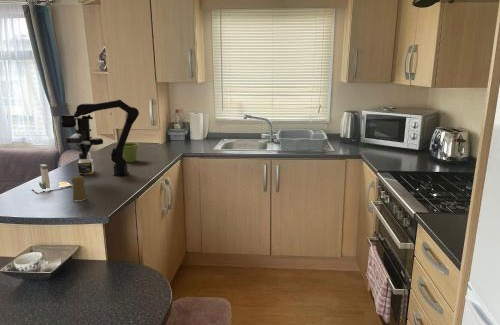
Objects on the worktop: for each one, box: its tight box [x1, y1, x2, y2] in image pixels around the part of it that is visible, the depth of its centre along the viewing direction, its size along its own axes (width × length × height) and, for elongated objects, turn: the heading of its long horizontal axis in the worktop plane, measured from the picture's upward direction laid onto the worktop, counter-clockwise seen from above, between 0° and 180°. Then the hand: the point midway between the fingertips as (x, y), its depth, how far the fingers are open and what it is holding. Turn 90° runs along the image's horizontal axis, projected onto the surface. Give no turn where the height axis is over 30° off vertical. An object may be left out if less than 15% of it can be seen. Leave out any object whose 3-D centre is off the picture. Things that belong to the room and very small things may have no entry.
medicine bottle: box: [77, 152, 95, 176], centre depth 209 cm, size 7×7×12 cm
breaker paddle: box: [39, 163, 51, 188], centre depth 179 cm, size 2×5×11 cm, turn 43°
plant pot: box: [122, 142, 139, 163], centre depth 237 cm, size 12×12×11 cm
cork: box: [71, 175, 88, 201], centre depth 163 cm, size 6×6×11 cm
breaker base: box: [38, 180, 73, 189], centre depth 182 cm, size 16×10×4 cm, turn 133°
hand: (85, 156), depth 196 cm, fingers closed
